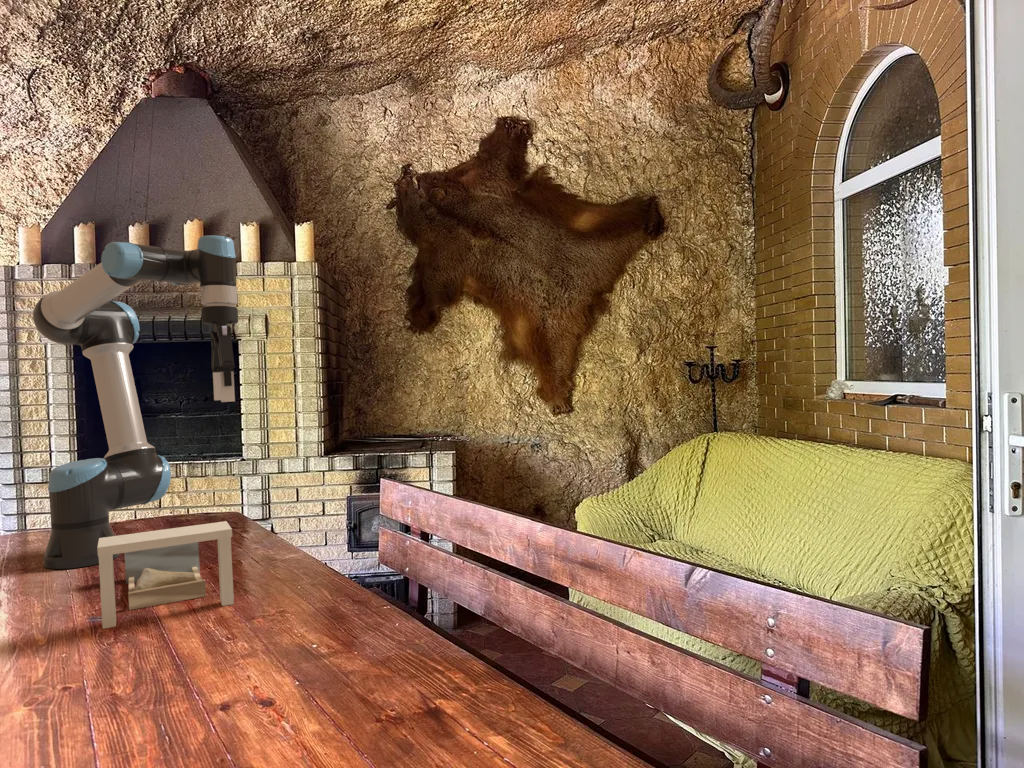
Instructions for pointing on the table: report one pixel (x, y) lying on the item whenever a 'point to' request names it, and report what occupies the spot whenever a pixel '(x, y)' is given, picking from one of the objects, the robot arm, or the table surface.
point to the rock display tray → (164, 560)
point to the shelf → (158, 540)
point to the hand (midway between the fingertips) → (224, 401)
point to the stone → (162, 578)
